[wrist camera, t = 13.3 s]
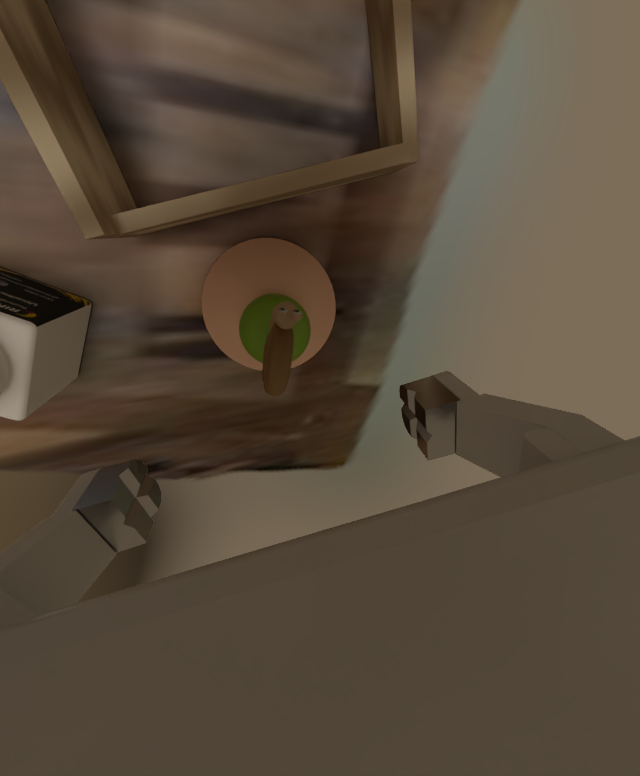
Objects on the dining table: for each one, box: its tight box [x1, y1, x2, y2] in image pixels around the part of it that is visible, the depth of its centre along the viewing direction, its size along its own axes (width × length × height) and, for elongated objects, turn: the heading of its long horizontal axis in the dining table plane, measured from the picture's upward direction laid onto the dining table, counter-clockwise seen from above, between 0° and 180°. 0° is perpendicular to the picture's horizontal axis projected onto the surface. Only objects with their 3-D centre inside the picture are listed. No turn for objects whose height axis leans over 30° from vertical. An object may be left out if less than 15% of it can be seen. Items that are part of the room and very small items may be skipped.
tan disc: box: [201, 238, 336, 371], centre depth 26 cm, size 11×11×1 cm
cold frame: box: [0, 0, 419, 239], centre depth 16 cm, size 14×20×7 cm
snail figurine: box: [239, 294, 311, 396], centre depth 21 cm, size 5×6×12 cm
